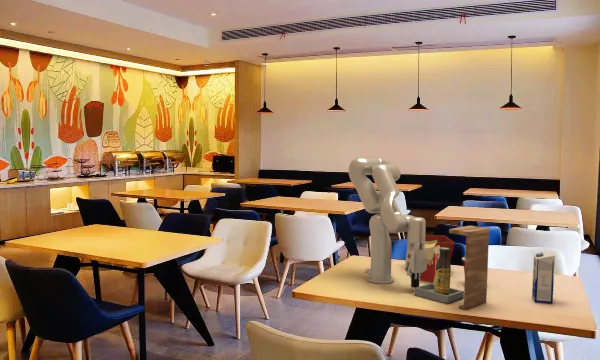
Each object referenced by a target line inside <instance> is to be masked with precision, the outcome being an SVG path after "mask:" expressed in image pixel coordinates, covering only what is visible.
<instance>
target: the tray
mask: <svg viewBox="0 0 600 360" xmlns="http://www.w3.org/2000/svg"><path fill="white" fill-rule="evenodd" d="M413 293H414V296H418V297H421V298H424V299H425V298H426V299H429V300H432V301H436V302H439V303H442V304H447V305H448V304H451V303H454V302H457V301H460V300H462V299H463V300H464V290H461V289H457V288H453V287H450V291H449V295H444V294H440V293H436V292H434V284H433V283H430V284H427V283H425V284H424V285H421V286H420V285H419V287H416V288H414V292H413Z"/></svg>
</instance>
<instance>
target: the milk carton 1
mask: <svg viewBox="0 0 600 360" xmlns="http://www.w3.org/2000/svg"><path fill="white" fill-rule="evenodd" d="M425 249H426V255H427V269H426V271H424V272H423V273H421V276H420V279H419V283H423V284H430V283H433V284H435V270H436V263H437V261H438V260H439V256H440V251H439V249H440V245H439V244H438V243H437V240H435V241H425Z"/></svg>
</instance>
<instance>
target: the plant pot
mask: <svg viewBox="0 0 600 360" xmlns="http://www.w3.org/2000/svg"><path fill="white" fill-rule="evenodd" d="M435 240H437V243H438V244H439V245H440V248H441V247H444V248H449V249H450V251H449V261H450V262H451V259H452V255H453V251H454V247H455V241H453V240H452V239H450V238H449V237H447V236H446V235H440V234H439V235H435V234H434V235H433V234H432V235H431V234H425V241H435Z"/></svg>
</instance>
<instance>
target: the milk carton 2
mask: <svg viewBox="0 0 600 360" xmlns="http://www.w3.org/2000/svg"><path fill="white" fill-rule="evenodd" d="M555 256H556V255H555V254H554V253H553V252H545V253H544V252H538V253H535V255H533V269H532V289H531V290H532V291H531V298H532V299H531V300H533V302H534V303H537V304H547V305H553V302H554V285H555V284H554V283H555V279H554V278H555V266H556V265H555V263H556V257H555Z"/></svg>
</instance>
